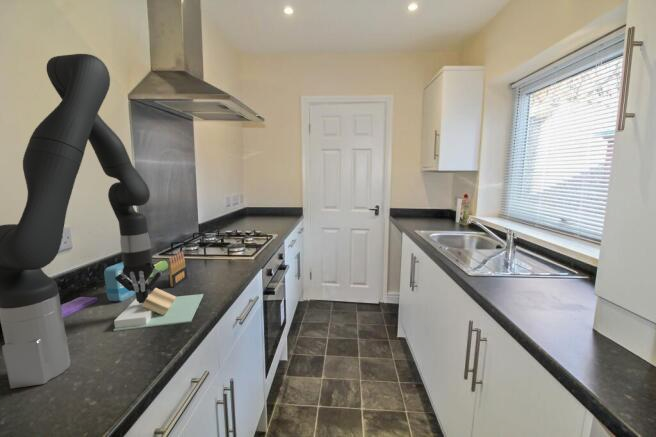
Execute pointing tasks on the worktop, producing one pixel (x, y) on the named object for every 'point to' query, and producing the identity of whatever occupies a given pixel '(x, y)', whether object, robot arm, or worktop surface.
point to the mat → (173, 313)
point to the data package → (116, 284)
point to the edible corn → (160, 266)
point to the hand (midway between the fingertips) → (143, 302)
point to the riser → (134, 315)
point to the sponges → (77, 305)
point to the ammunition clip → (177, 270)
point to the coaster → (159, 301)
